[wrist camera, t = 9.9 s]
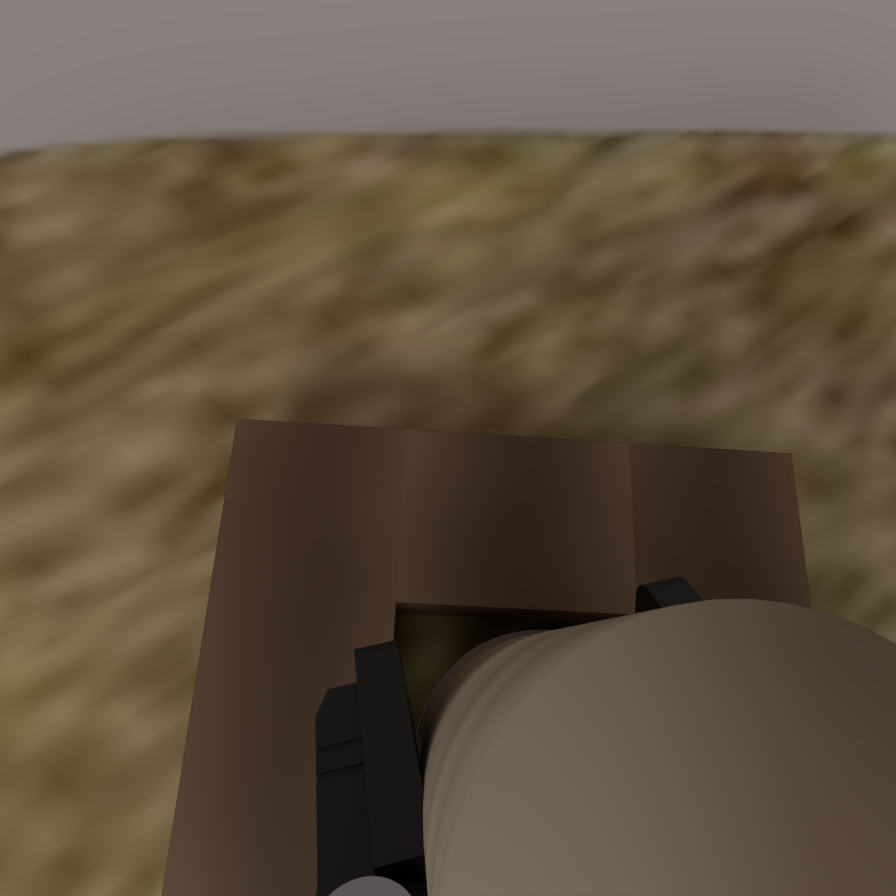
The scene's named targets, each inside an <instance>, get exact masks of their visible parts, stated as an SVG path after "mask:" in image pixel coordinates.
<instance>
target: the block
mask: <svg viewBox="0 0 896 896" xmlns="http://www.w3.org/2000/svg"><path fill="white" fill-rule="evenodd" d="M674 577H682V578H684V579H685V580H686V581H687V582H688V583H689V584H690V585H691V586H692V587H693V589H694V590H695V591H696V592H697V593H698V595H699V596H700V597H701V598H702V599H703V601H706V600H712V599H757V600H765V601H774V602H782V603H790V604H794V605H798V606H802V607H806V608H810V609H811V605H810V597H809V589H808V581H807V573H806V565H805V557H804V550H803V542H802V534H801V526H800V518H799V510H798V503H797V495H796V487H795V479H794V471H793V463H792V456H791V453H775V452H759V451H743V450H727V449H711V448H695V447H679V446H663V445H647V444H632V443H616V442H600V441H584V440H568V439H552V438H536V437H520V436H504V435H488V434H472V433H457V432H441V431H425V430H409V429H393V428H377V427H361V426H345V425H329V424H313V423H297V422H281V421H266V420H250V419H237V422H236V429H235V435H234V441H233V448H232V454H231V460H230V467H229V473H228V479H227V486H226V492H225V498H224V505H223V511H222V517H221V524H220V530H219V536H218V542H217V549H216V555H215V561H214V568H213V574H212V580H211V587H210V593H209V599H208V606H207V612H206V618H205V625H204V631H203V637H202V644H201V650H200V656H199V662H198V669H197V675H196V681H195V688H194V694H193V700H192V707H191V713H190V719H189V726H188V732H187V738H186V745H185V751H184V757H183V764H182V770H181V776H180V782H179V789H178V795H177V801H176V808H175V814H174V820H173V827H172V833H171V839H170V846H169V852H168V858H167V865H166V871H165V877H164V883H163V890H162V896H316V892H317V818H316V781H317V778H316V749H315V717H316V715H317V713H318V710H319V708H320V706H321V703H322V701H323V699H324V696H325V694H326V692H327V689H330V688H334V687H339V686H343V685H347V684H352V683H356V682H357V680H356V669H355V657H354V649H357V648H361V647H366V646H370V645H375V644H379V643H383V642H388V641H392V640H396V639H397V624H398V613H400V614H420V615H440V616H460V617H479V618H499V619H519V620H538V621H558V622H578V623H591V622H596V621H601V620H606V619H611V618H616V617H620V616H625V615H630V614H635V599H636V590H637V588H638V586H640V585H643V584H648V583H652V582H657V581H661V580H666V579H670V578H674Z"/></svg>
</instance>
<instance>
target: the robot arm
mask: <svg viewBox="0 0 896 896" xmlns="http://www.w3.org/2000/svg"><path fill="white" fill-rule="evenodd" d="M700 601H703V599H702V598H701V597H700V596H699V595H698V593H697V592H696V591H695V590H694V589H693V587H692V586H691V585H690V584H689V583H688V582H687V581H686V580H685V579H684V578H682V577H674V578H670V579H666V580H661V581H657V582H652V583H648V584H643V585H640V586H638V588H637V590H636V599H635V613H640V612H645V611H650V610H655V609H660V608H665V607H670V606H675V605H681V604H687V603H693V602H700ZM354 657H355V669H356V680H357V682H356V683H352V684H347V685H343V686H339V687H334V688H330V689H327V692H326V694H325V696H324V699H323V701H322V703H321V706H320V708H319V710H318V713H317V715H316V717H315V749H316V778H317V781H316V818H317V892H316V896H428V891H427V878H426V866H425V853H424V840H423V798H424V794H423V785H422V776H421V767H420V758H419V753H418V747H417V741H416V736H415V731H414V725H413V720H412V715H411V709H410V704H409V699H408V694H407V689H406V684H405V679H404V674H403V669H402V664H401V659H400V654H399V649H398V644H397V640H392V641H388V642H383V643H379V644H375V645H370V646H366V647H361V648H357V649H354Z"/></svg>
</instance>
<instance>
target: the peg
mask: <svg viewBox="0 0 896 896" xmlns="http://www.w3.org/2000/svg"><path fill="white" fill-rule="evenodd" d="M415 736H416V741H417V747H418V753H419V758H420V767H421V776H422V785H423V794H424V798H423V840H424V853H425V866H426V878H427V891H428V896H896V644H895V643H893V642H891V641H889V640H888V639H886V638H884V637H882V636H880V635H878V634H876V633H874V632H873V631H871V630H869V629H867V628H865V627H862V626H859V625H857V624H854V623H852V622H849V621H847V620H844V619H842V618H839V617H836V616H834V615H831V614H829V613H825V612H821V611H817V610H813V609H810V608H806V607H802V606H798V605H794V604H790V603H782V602H774V601H765V600H757V599H712V600H706V601H700V602H693V603H687V604H681V605H675V606H670V607H665V608H660V609H655V610H650V611H645V612H640V613H635V614H630V615H625V616H620V617H616V618H611V619H606V620H601V621H596V622H591V623H586V624H581V625H576V626H571V627H566V628H562V629H557V630H526V631H520V632H513V633H509V634H506V635H503V636H499V637H496V638H493V639H491V640H489V641H486V642H484V643H482V644H480V645H478V646H476V647H475V648H473V649H472V650H470V651H469V652H467V653H466V654H464V655H463V656H462V657H461V658H460V659H458V660H457V661H456V662H455V663H454V664H453V665H452V666H451V667H450V668H449V669H448V670H447V671H446V673H445V674H444V675H443V676H442V677H441V679H440V680H439V682H438V683H437V684H436V686H435V687H434V689H433V690H432V692H431V694H430V696H429V698H428V700H427V702H426V704H425V706H424V709H423V711H422V714H421V717H420V719H419V723H418V727H417V731H416V735H415Z"/></svg>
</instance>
